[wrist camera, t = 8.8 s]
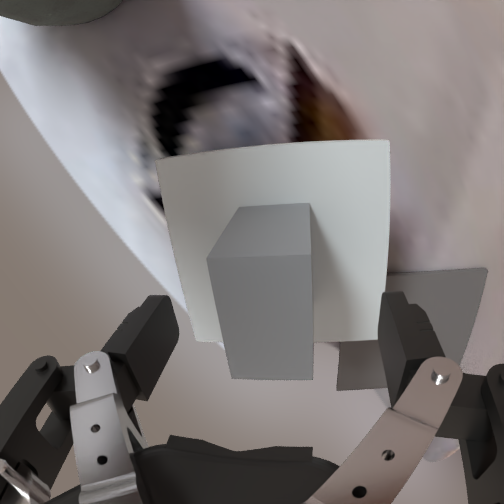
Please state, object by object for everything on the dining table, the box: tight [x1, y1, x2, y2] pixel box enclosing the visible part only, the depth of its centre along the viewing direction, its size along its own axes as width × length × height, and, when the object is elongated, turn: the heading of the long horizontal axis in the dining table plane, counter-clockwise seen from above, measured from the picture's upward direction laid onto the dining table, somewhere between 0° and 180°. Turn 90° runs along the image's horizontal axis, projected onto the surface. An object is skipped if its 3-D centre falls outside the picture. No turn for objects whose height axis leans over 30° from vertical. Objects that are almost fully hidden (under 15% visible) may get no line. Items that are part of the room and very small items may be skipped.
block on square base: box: [155, 140, 390, 380], centre depth 13 cm, size 10×10×6 cm
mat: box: [337, 268, 488, 391], centre depth 22 cm, size 11×11×1 cm
